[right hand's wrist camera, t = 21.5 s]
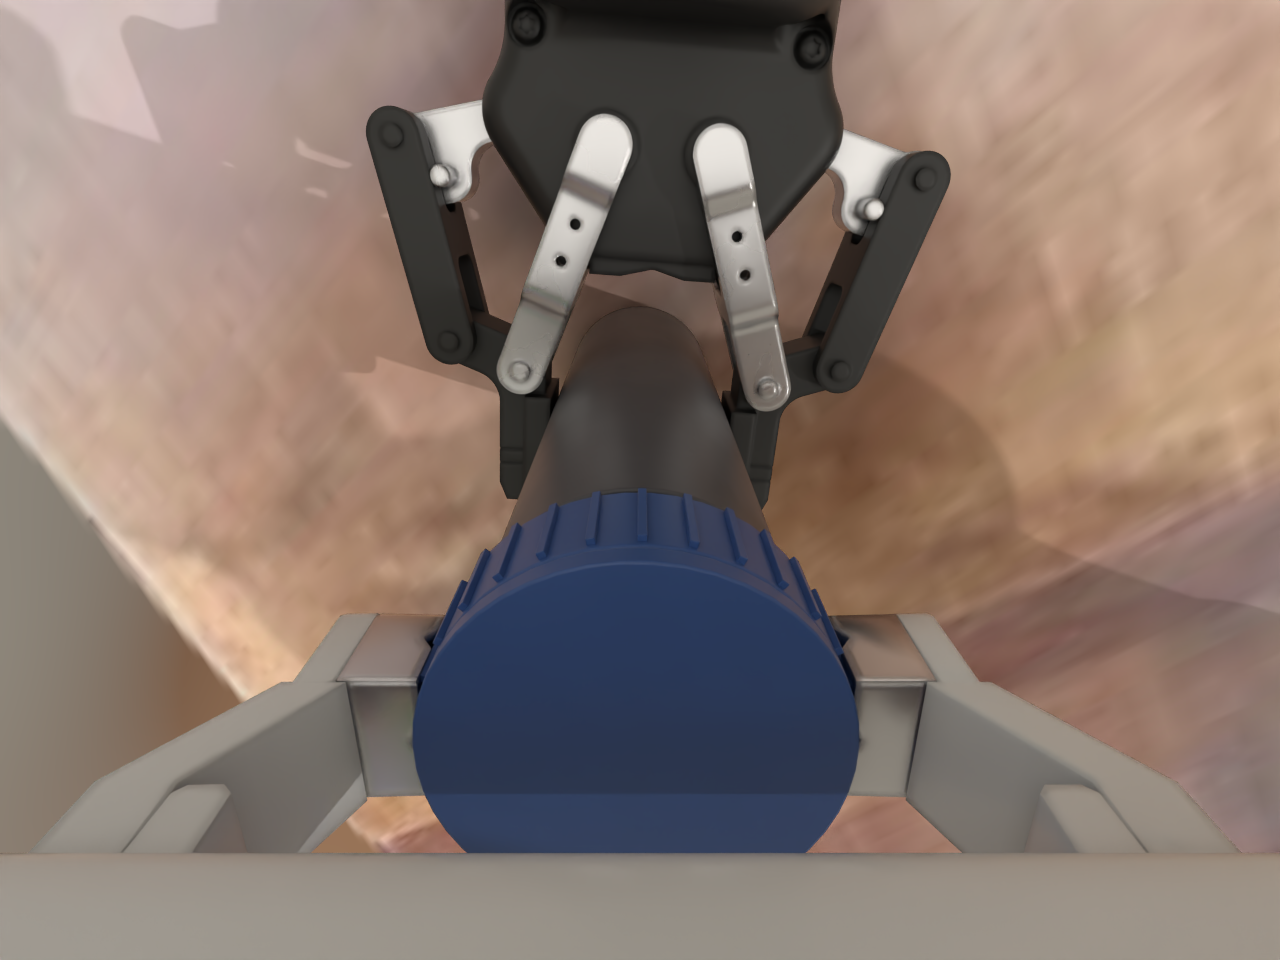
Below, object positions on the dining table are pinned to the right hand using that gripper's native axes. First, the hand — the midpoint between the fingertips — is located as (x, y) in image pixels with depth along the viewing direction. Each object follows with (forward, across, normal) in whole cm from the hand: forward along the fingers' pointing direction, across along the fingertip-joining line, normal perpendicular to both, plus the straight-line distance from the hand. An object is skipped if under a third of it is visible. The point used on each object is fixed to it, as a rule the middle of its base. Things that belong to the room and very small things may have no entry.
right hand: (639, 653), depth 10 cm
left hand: (+11, 0, -3) cm, 11 cm away
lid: (-2, 0, 0) cm, 2 cm away
